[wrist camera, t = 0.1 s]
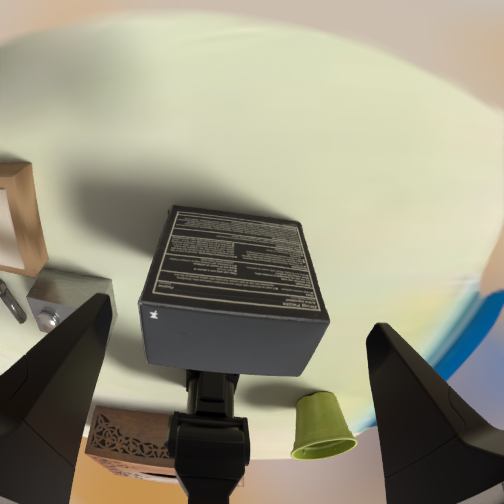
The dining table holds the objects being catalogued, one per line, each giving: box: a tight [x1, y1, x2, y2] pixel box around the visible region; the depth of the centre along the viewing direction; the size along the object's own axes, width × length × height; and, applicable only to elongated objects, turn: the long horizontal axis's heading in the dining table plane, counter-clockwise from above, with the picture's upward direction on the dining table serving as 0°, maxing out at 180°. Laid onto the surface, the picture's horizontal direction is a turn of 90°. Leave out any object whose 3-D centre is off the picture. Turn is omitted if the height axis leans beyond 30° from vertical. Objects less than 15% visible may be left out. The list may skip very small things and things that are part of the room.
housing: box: [26, 268, 117, 347], centre depth 26 cm, size 5×8×5 cm, turn 80°
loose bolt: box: [0, 281, 27, 324], centre depth 28 cm, size 6×2×2 cm, turn 10°
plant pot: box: [291, 392, 357, 460], centre depth 39 cm, size 9×9×9 cm
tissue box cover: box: [85, 406, 244, 487], centre depth 45 cm, size 26×14×10 cm, turn 90°
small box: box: [138, 206, 330, 377], centre depth 21 cm, size 11×6×10 cm, turn 80°
